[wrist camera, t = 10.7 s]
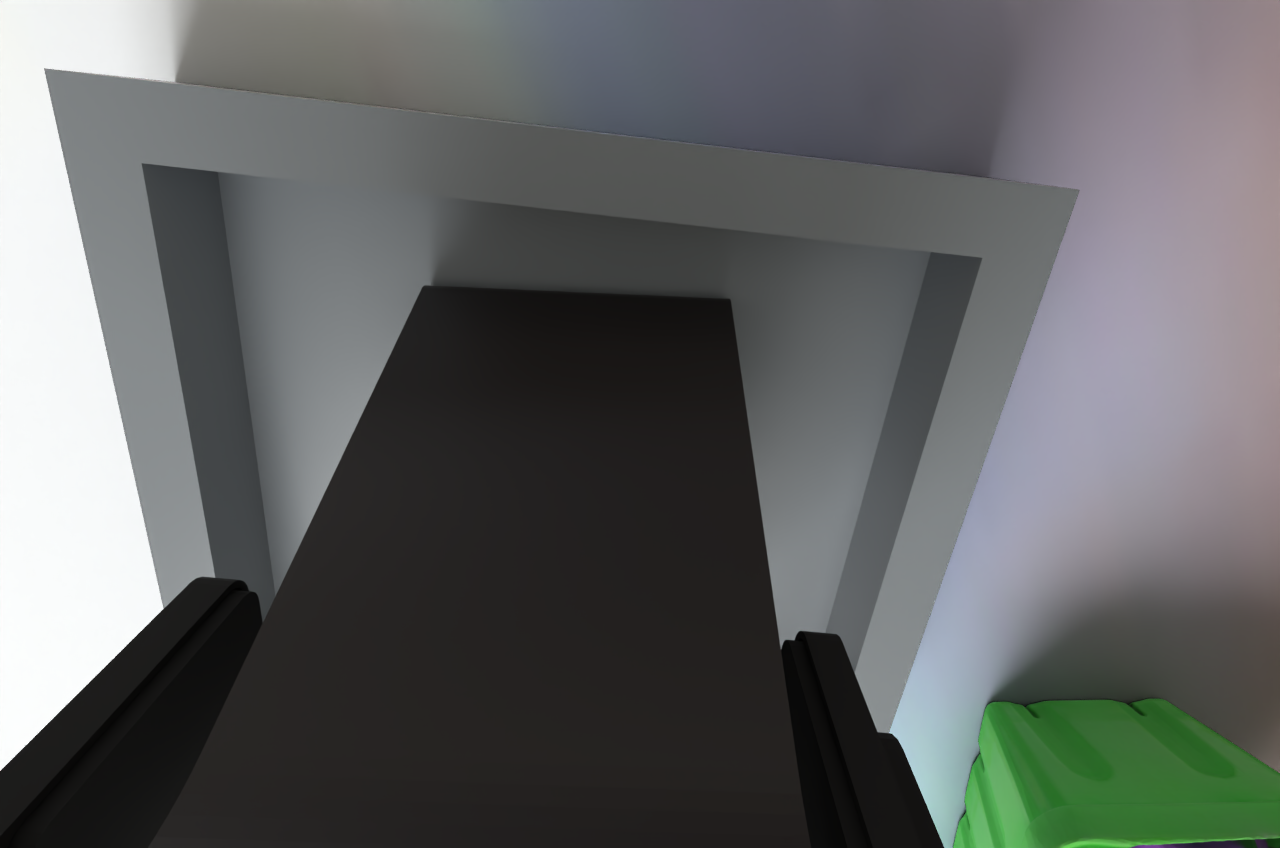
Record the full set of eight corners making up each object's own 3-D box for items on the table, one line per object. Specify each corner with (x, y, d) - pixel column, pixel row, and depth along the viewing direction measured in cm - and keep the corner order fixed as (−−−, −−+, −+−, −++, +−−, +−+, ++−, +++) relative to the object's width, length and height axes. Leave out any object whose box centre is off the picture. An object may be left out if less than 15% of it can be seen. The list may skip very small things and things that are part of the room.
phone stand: (429, 279, 13) (-619, 1004, 2) (731, 295, 13) (1141, 1059, 2) (456, 637, 17) (104, 1586, 6) (694, 647, 17) (787, 1602, 6)
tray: (990, 177, 13) (1080, 189, 11) (826, 725, 19) (856, 824, 17) (173, 82, 13) (44, 68, 10) (265, 678, 19) (199, 772, 16)
